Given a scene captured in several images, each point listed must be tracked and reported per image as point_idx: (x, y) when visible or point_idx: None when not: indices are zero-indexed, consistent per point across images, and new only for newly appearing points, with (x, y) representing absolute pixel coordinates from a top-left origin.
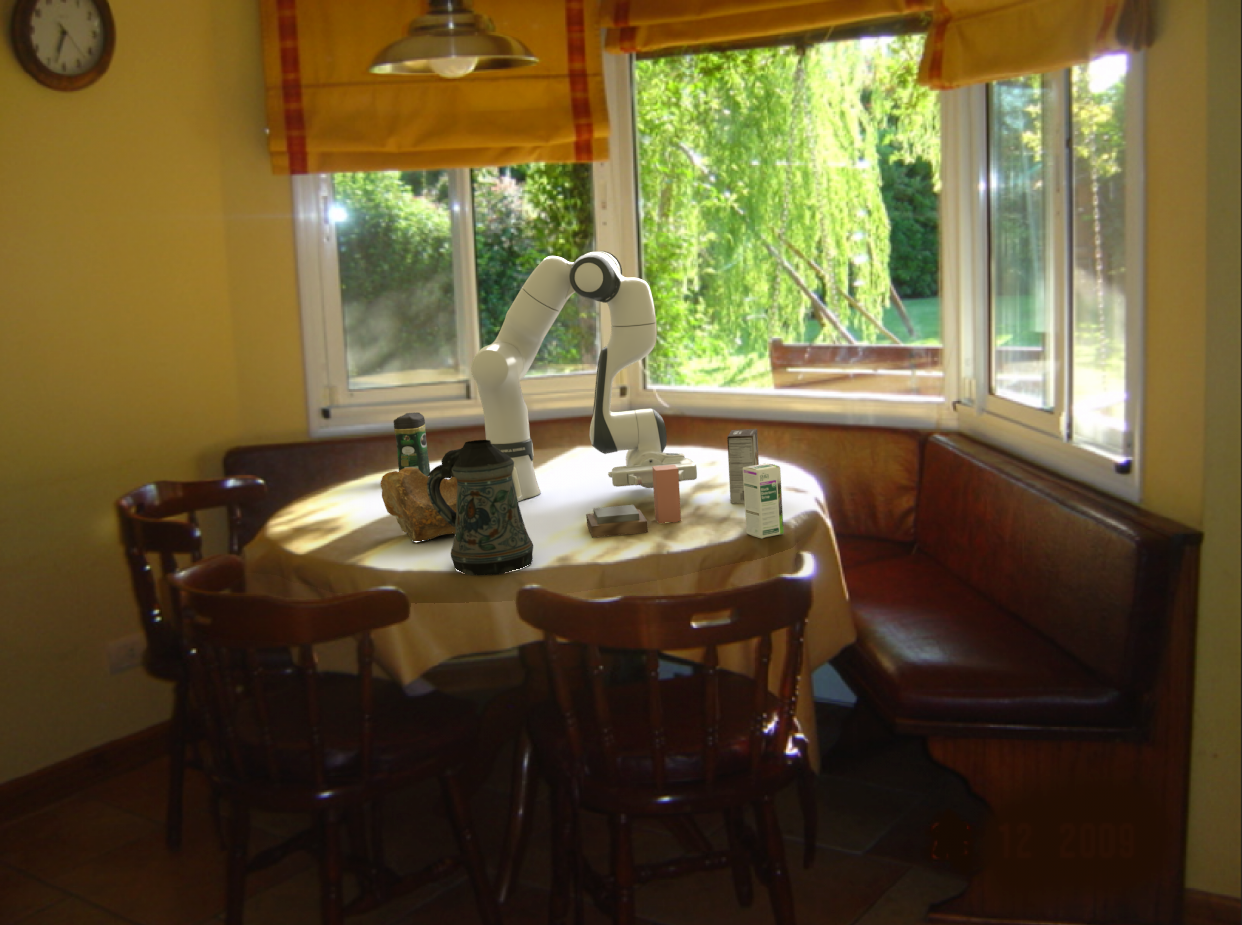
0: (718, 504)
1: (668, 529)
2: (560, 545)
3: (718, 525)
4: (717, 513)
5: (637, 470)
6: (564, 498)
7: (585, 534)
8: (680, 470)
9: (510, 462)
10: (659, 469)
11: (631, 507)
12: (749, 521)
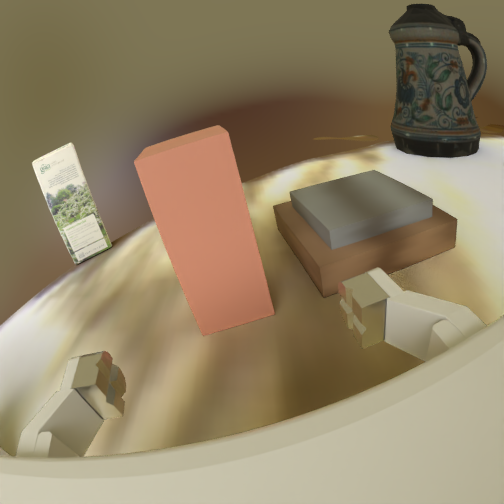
0: None
1: None
2: (411, 176)
3: (129, 277)
4: None
5: (432, 362)
6: None
7: None
8: (35, 433)
9: (390, 28)
10: (205, 130)
11: (324, 213)
12: (103, 224)
